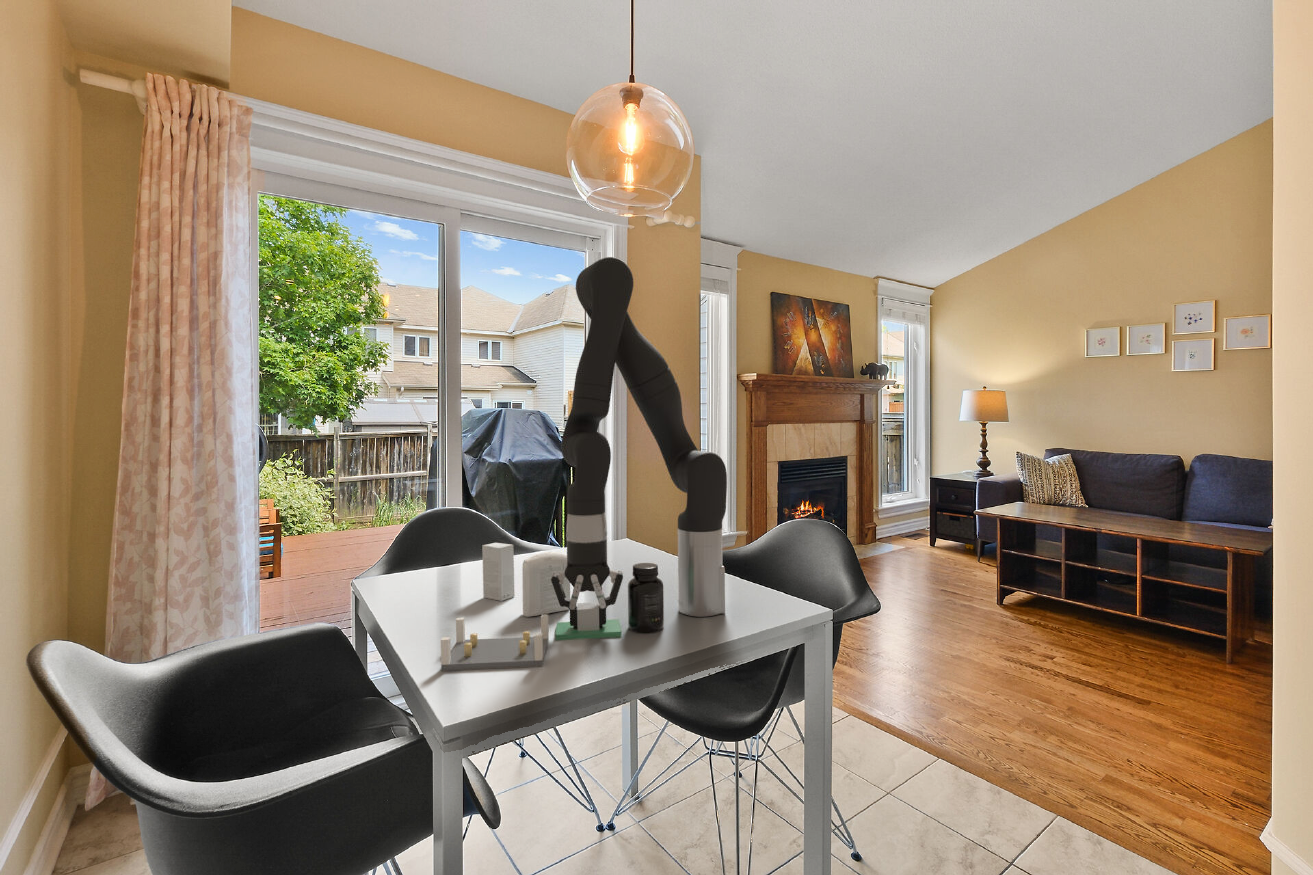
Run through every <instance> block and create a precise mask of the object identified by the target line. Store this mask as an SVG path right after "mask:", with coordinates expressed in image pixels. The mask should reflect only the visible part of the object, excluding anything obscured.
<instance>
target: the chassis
mask: <svg viewBox="0 0 1313 875" xmlns="http://www.w3.org/2000/svg"><path fill="white" fill-rule="evenodd" d="M465 622H466V621H465V617H457V618H456V619H455V635H456V641H455V642H456V643H455V644H454V645H453V647H452V646H451V637H450V636H449V637H447V636H443V637H442V638H441V639H440V659H441V660H440V662H441V664H440V665H441V667H440V668H441V670H440V671H441V672H449V671H451V672H452V671H467V670H468V671H469V670H487V669H488V670H492V669H513V668H515V669H516V668H536V667H543V665H544V661H545V658H546V653H547V649H548V646H549V643H550V642H549V641H550V640H549V638H550V633H549V613H547V614H542V615H541V616H540V633H534V636H531V632H530V631H528V630H527V631H525V630H524V631H523V632H522V636H521V637H499V638H478V633H475V632H474V633H470V635H469V638H470V639H466V631H465V630H466V628H465V626H466V625H465ZM451 647H452V648H451Z"/></svg>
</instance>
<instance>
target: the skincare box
mask: <svg viewBox="0 0 1313 875" xmlns="http://www.w3.org/2000/svg"><path fill="white" fill-rule="evenodd" d="M481 546H482V548H481V549H482V550H481V551H482V552H481V553H482V554H481V555H482V582H483V583H482V586H483V588H482V590H483V592H482V593H483V598H484V599H489V600H495V601H500V602H502V601H505V600H509V599H511V598H515V594H516V593H515V564H514V563H515V560H514V559H515V558H514V556H515V555H514V544H510V543H509V544H508V543H501V542H493V543H488V544H483V545H481Z"/></svg>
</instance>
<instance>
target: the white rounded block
mask: <svg viewBox="0 0 1313 875" xmlns="http://www.w3.org/2000/svg"><path fill="white" fill-rule="evenodd" d="M566 567H567V554H565V553H562V552H561V553H560V552H552V551H550V552H541V553H538V554H535V555H532V556H529V557H527V558H525V559H524V560H523V562H522V567H521V568H522V569H521V570H522V572H521V574H522V575H521V576H522V615H523V616H524V617H526V618H530V617H534V616H535V617H536V616H540V615H545V614H551V613H557V612H563V611H567V610H568V611H570V610H569V608H567V607H561V606H560V604H559V601H558V599H557V596H556V593H555V590H554V587H553V584H552V582H551V578H552V575H553V574H554V573H556V574H559V573H562V572H564V571H565V569H566ZM562 587H563V590H564V593H565V596H566V598H568V599H571V583H570V582H569V581H568V579H567V578H566V577H565V578H564V583H563V585H562Z"/></svg>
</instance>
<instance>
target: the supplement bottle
mask: <svg viewBox="0 0 1313 875" xmlns="http://www.w3.org/2000/svg"><path fill="white" fill-rule="evenodd" d="M658 566H659V565H658V564H657V563H652V562H640V563H638V562H637V563H635V564H633V565H632V578H631V579H630V581H628V583H627V620H628V621H627V624H628V628H629V629H630V631H632V632H634V633H639V634H652V633H653V634H654V633H657V632H659V631H661V630H662V629H663V628H664V624H665V612H664V611H665V610H664V609H665V608H664V607H665V606H664V602H665V600H664V582H663V581H662V580H661V578H659V577H658V576H659V567H658Z"/></svg>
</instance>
